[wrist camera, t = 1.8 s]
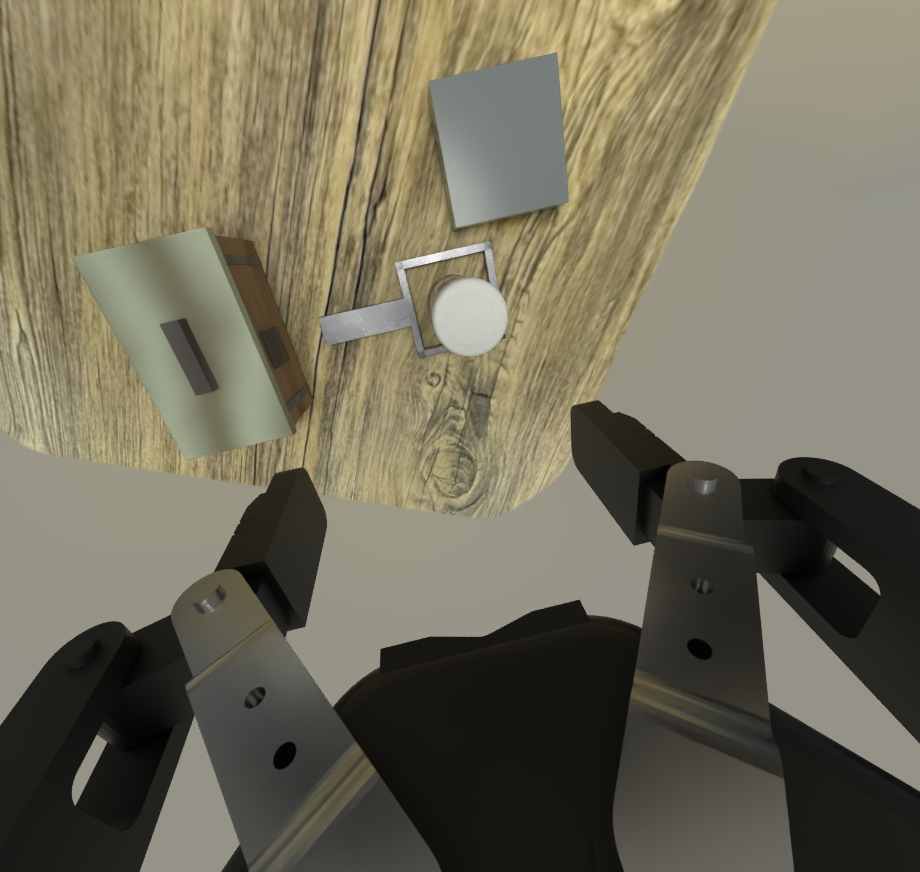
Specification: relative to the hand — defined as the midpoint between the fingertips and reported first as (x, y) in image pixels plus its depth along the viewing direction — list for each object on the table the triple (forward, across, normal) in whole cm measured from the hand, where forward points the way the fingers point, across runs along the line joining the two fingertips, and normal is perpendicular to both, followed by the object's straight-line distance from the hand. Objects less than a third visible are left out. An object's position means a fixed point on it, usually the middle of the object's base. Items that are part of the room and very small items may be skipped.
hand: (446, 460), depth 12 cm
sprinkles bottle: (+27, +4, -1) cm, 27 cm away
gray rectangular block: (+27, +9, +9) cm, 30 cm away
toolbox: (+27, -16, 0) cm, 31 cm away
